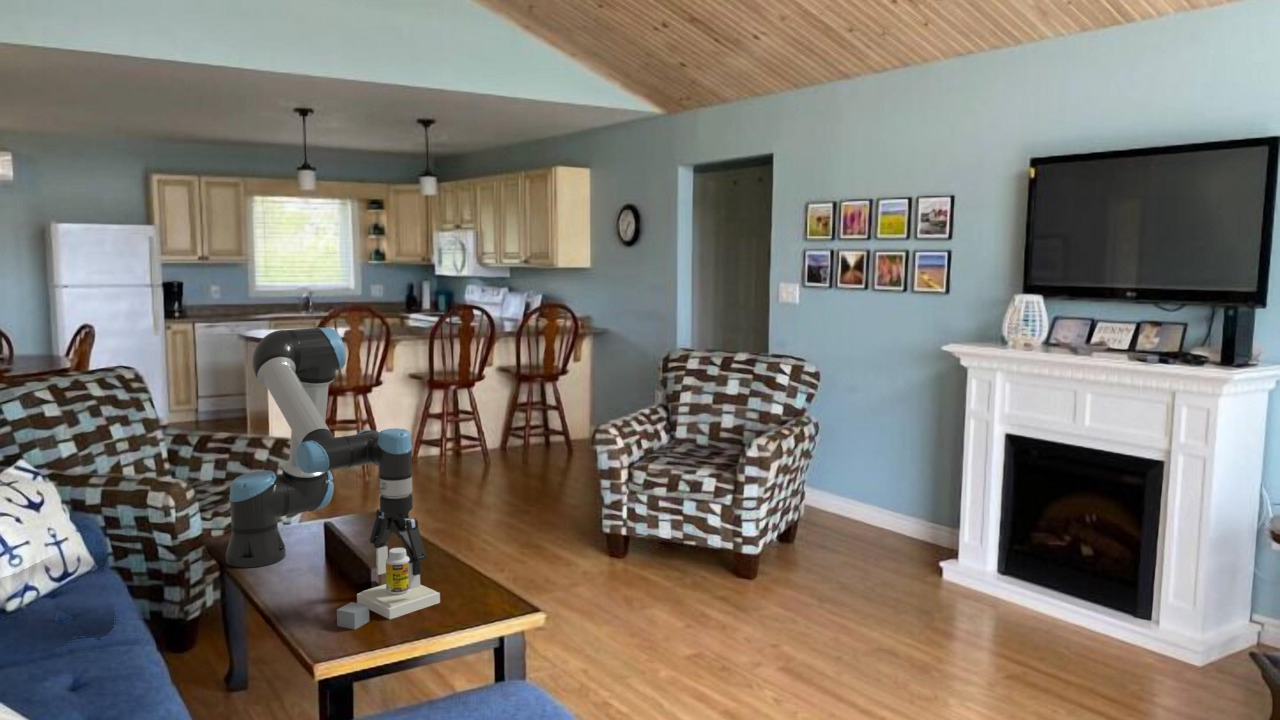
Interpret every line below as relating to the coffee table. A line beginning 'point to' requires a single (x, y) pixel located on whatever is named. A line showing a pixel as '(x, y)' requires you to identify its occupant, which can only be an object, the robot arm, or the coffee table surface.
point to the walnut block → (382, 578)
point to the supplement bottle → (397, 571)
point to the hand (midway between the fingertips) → (398, 580)
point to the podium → (398, 600)
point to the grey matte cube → (353, 615)
